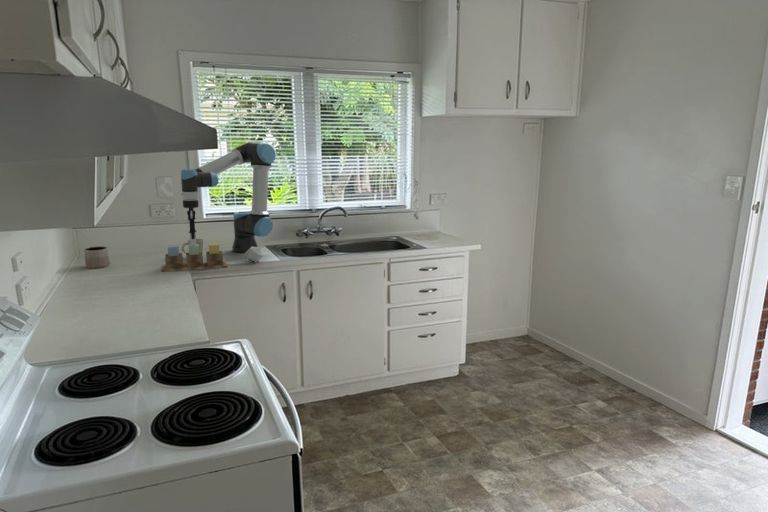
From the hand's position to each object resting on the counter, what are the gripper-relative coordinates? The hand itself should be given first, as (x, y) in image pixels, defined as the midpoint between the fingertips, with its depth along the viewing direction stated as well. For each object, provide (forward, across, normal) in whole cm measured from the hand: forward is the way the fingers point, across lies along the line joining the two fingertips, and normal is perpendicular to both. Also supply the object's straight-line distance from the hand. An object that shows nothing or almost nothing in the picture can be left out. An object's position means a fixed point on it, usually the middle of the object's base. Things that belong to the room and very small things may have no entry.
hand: (193, 244), depth 267 cm
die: (+12, -3, +31) cm, 33 cm away
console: (+12, 0, 0) cm, 12 cm away
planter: (+12, -16, -48) cm, 52 cm away
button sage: (+7, 0, 0) cm, 7 cm away
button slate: (+7, 0, -10) cm, 12 cm away
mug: (+12, -23, -1) cm, 26 cm away
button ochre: (+7, 0, +10) cm, 12 cm away
